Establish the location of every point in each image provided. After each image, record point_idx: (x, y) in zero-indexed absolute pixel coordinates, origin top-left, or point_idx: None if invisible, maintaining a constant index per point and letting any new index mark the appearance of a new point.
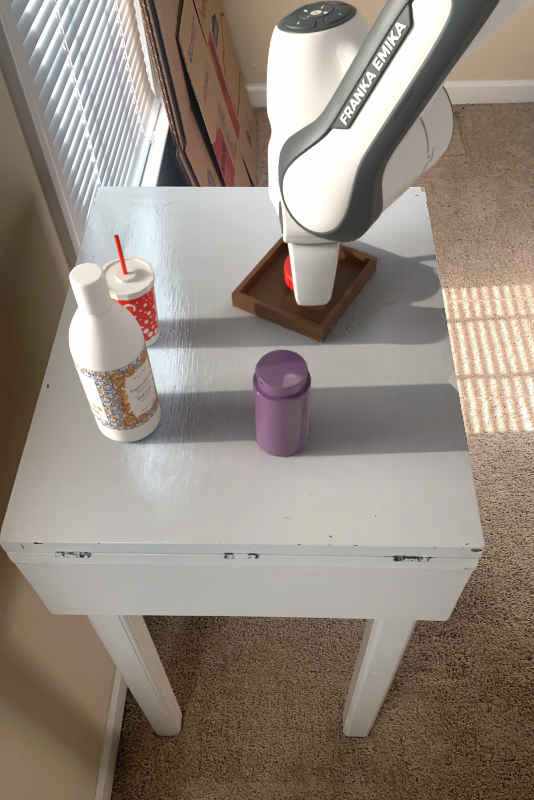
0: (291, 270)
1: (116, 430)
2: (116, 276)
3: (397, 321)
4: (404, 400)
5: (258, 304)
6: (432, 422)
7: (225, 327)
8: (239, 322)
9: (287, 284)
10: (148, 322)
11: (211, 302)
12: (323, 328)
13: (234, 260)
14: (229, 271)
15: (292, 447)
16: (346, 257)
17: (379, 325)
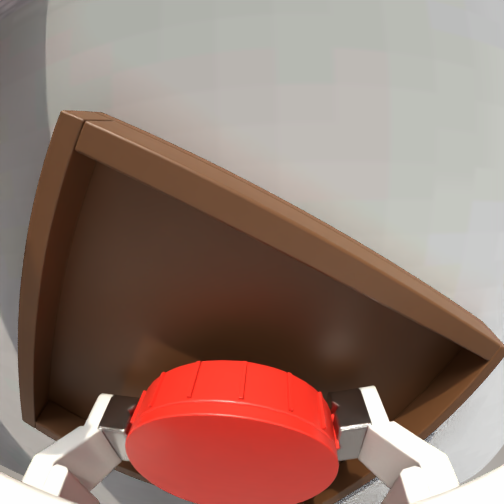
0: (183, 432)
1: None
2: None
3: (154, 494)
4: (11, 450)
5: (24, 256)
6: (4, 458)
7: (9, 117)
8: (29, 161)
9: (173, 371)
10: None
11: (122, 21)
12: (27, 423)
13: (412, 100)
14: (339, 72)
15: None
16: (344, 467)
17: (133, 477)
